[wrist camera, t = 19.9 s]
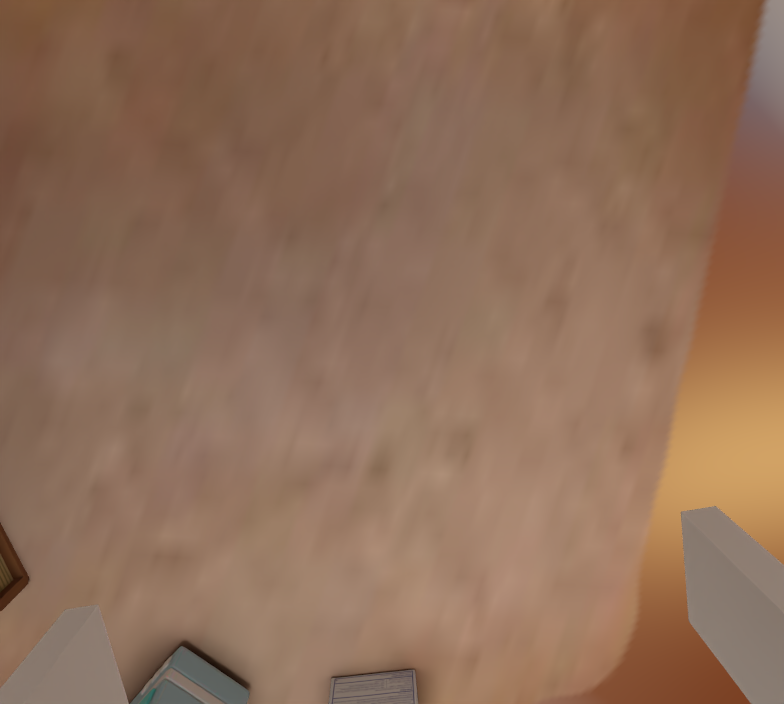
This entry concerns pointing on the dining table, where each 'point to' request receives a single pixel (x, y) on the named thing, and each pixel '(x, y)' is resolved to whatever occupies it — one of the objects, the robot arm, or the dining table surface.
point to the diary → (10, 571)
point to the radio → (190, 683)
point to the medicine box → (375, 689)
